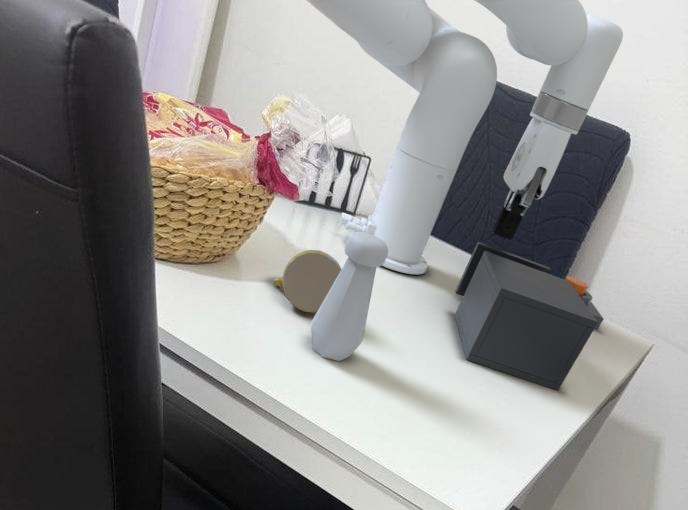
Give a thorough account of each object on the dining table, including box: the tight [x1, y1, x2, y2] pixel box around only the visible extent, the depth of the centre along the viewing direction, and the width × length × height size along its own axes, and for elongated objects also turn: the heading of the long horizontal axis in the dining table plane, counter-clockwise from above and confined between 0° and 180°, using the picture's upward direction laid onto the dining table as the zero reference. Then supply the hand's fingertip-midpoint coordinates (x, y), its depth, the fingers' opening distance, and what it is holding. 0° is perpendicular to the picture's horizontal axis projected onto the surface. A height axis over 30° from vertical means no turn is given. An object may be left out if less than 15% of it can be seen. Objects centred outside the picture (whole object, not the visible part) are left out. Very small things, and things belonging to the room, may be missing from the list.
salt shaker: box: [310, 232, 388, 362], centre depth 74 cm, size 6×6×13 cm
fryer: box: [454, 251, 598, 391], centre depth 93 cm, size 15×13×10 cm
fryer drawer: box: [455, 241, 552, 297], centre depth 102 cm, size 18×12×8 cm, turn 177°
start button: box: [564, 275, 589, 296], centre depth 120 cm, size 4×4×2 cm
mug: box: [273, 249, 342, 314], centre depth 85 cm, size 8×10×10 cm
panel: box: [578, 290, 604, 331], centre depth 121 cm, size 11×9×4 cm
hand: (501, 235), depth 113 cm, fingers closed
